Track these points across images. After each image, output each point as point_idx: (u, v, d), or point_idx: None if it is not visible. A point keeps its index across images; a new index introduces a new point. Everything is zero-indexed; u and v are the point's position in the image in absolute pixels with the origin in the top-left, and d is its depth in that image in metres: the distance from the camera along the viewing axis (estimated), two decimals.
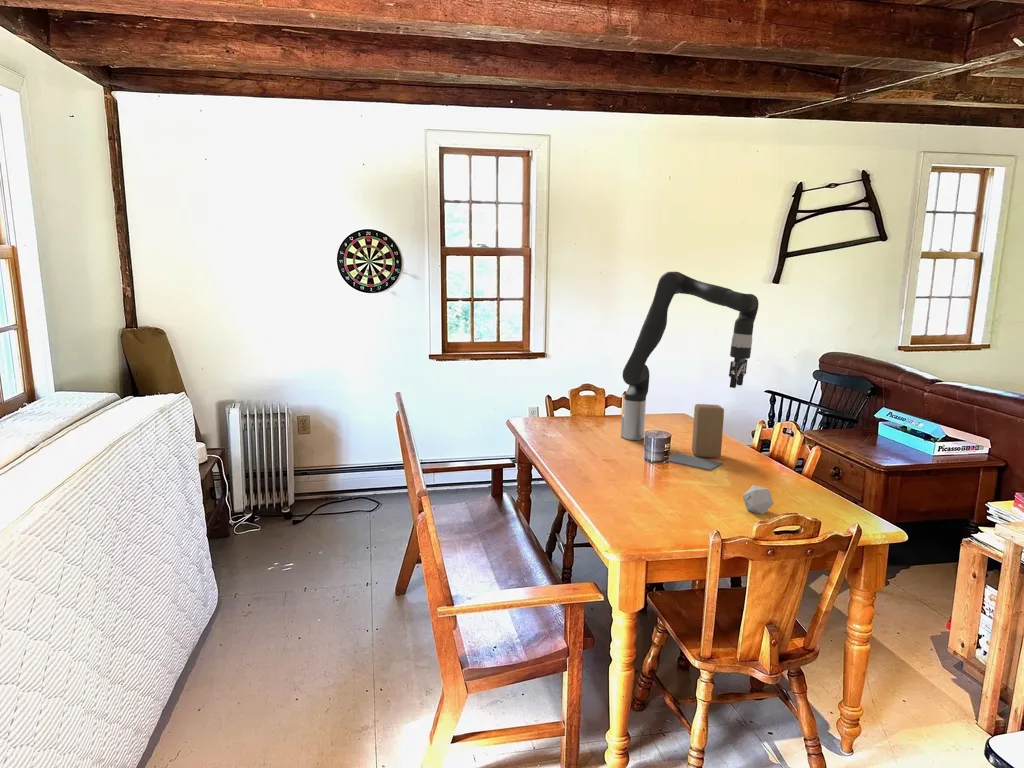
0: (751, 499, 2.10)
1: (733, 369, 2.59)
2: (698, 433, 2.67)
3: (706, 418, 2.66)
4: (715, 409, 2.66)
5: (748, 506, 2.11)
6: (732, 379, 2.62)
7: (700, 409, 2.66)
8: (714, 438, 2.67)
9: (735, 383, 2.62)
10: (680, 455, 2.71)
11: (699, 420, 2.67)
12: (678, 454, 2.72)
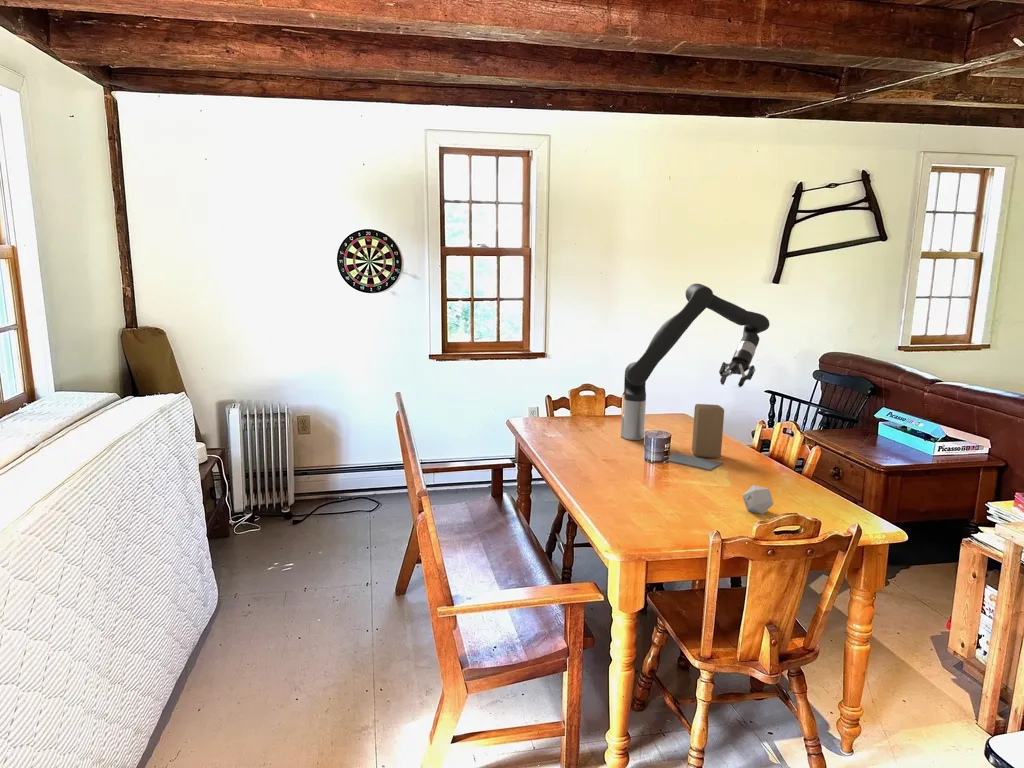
0: (751, 499, 2.10)
1: (752, 373, 2.81)
2: (698, 433, 2.67)
3: (706, 418, 2.66)
4: (715, 409, 2.66)
5: (748, 506, 2.11)
6: (744, 379, 2.81)
7: (700, 409, 2.66)
8: (714, 438, 2.67)
9: None
10: (680, 455, 2.71)
11: (699, 420, 2.67)
12: (678, 454, 2.72)
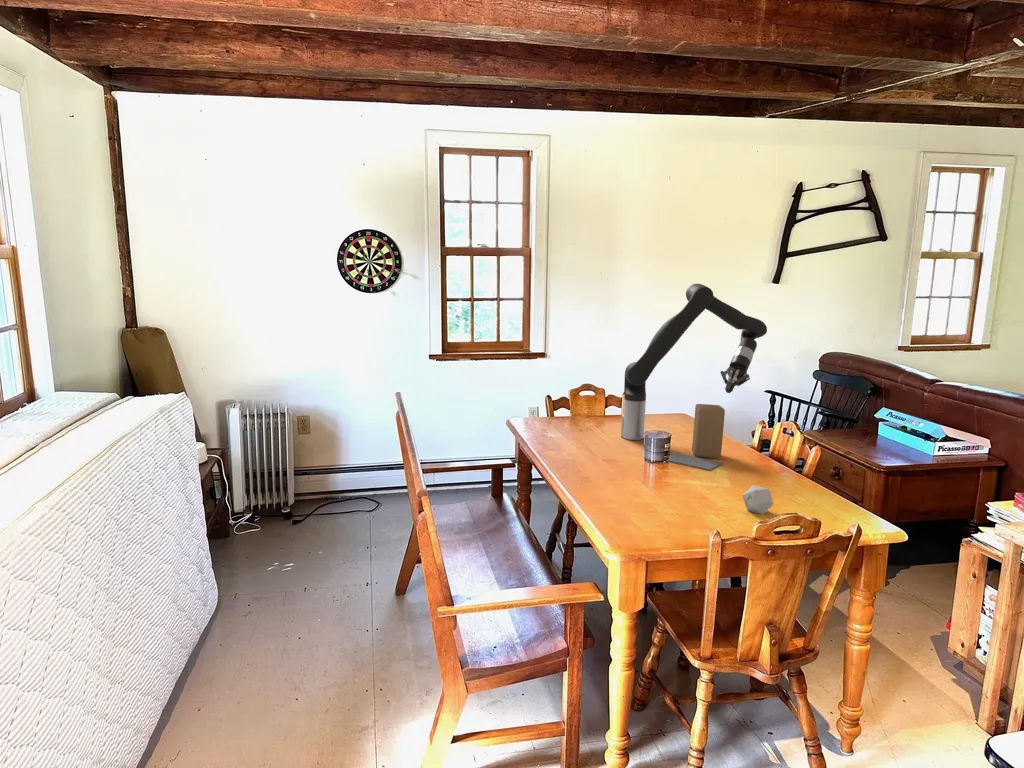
0: (751, 499, 2.10)
1: (743, 381, 2.82)
2: (698, 433, 2.67)
3: (707, 418, 2.66)
4: (716, 409, 2.65)
5: (748, 506, 2.11)
6: (733, 385, 2.82)
7: (701, 409, 2.66)
8: (715, 439, 2.67)
9: None
10: (680, 455, 2.71)
11: (700, 420, 2.66)
12: (678, 454, 2.72)
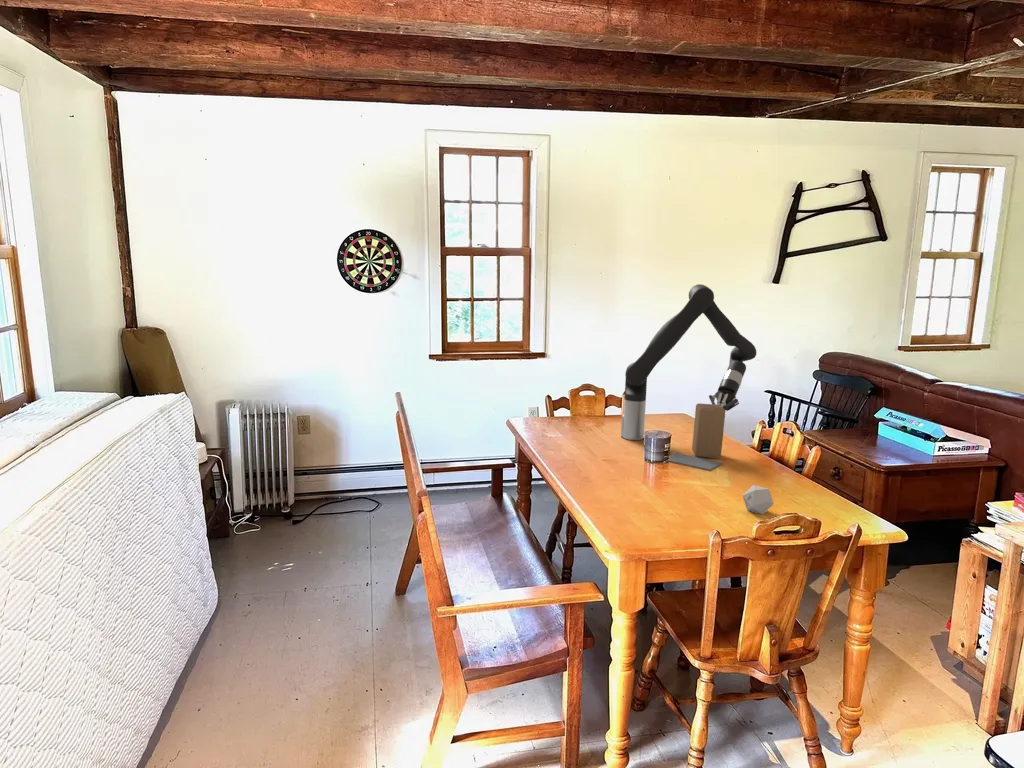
0: (751, 499, 2.10)
1: (732, 406, 2.76)
2: (699, 433, 2.67)
3: (707, 419, 2.65)
4: (716, 410, 2.65)
5: (748, 506, 2.11)
6: None
7: (701, 410, 2.65)
8: (715, 439, 2.67)
9: None
10: (680, 455, 2.71)
11: (700, 420, 2.66)
12: (678, 454, 2.72)
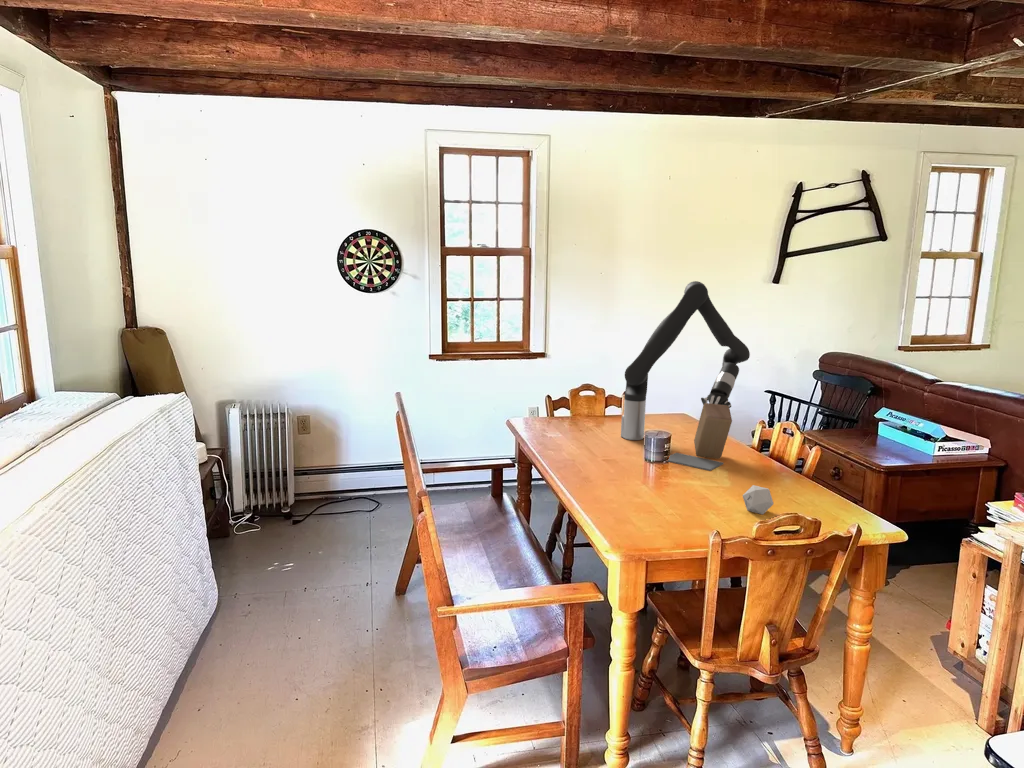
0: (751, 499, 2.10)
1: None
2: (702, 438, 2.63)
3: (712, 427, 2.59)
4: (723, 420, 2.57)
5: (748, 506, 2.11)
6: None
7: (707, 418, 2.58)
8: (717, 444, 2.63)
9: None
10: (680, 455, 2.71)
11: (704, 427, 2.60)
12: (678, 454, 2.72)
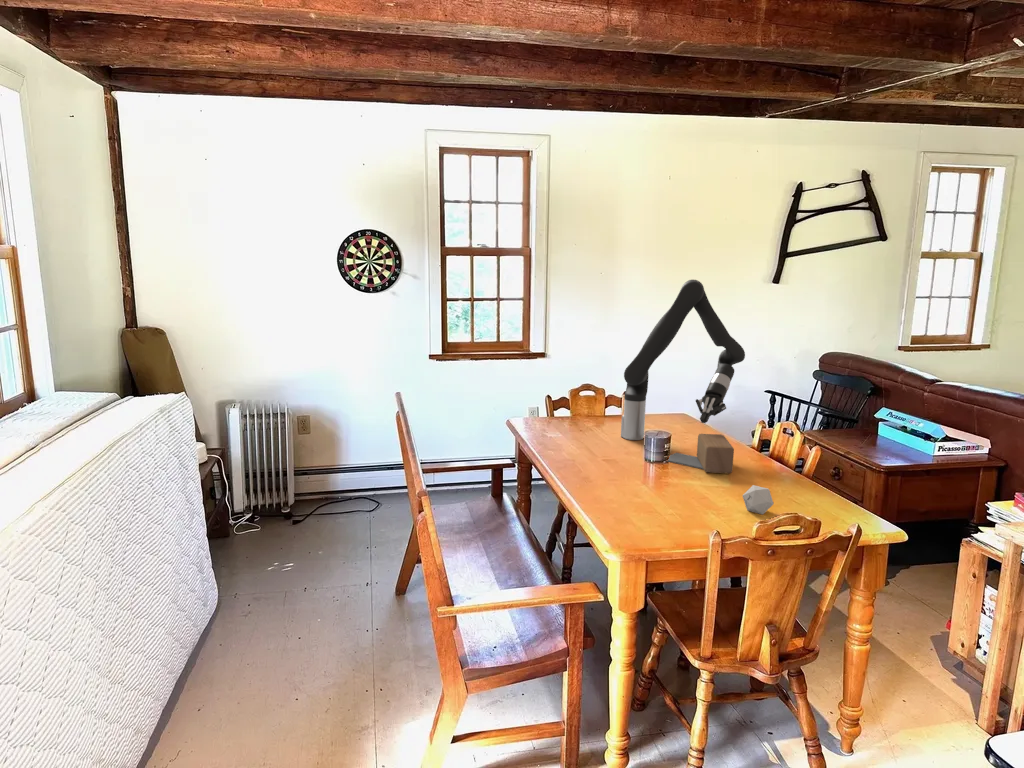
0: (751, 499, 2.10)
1: (719, 410, 2.66)
2: None
3: None
4: (722, 472, 2.49)
5: (748, 506, 2.11)
6: (708, 415, 2.67)
7: (706, 471, 2.50)
8: None
9: None
10: (680, 455, 2.71)
11: None
12: (678, 454, 2.72)
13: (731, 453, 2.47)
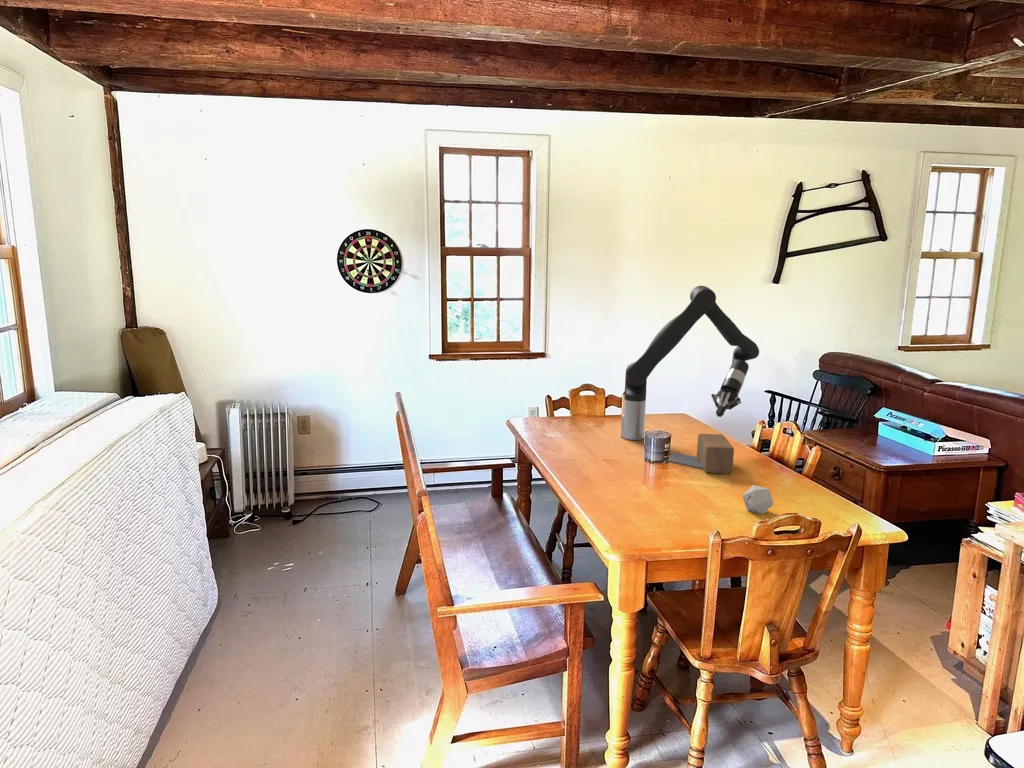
0: (751, 499, 2.10)
1: (734, 404, 2.77)
2: None
3: None
4: (722, 472, 2.49)
5: (748, 506, 2.11)
6: (724, 409, 2.78)
7: (706, 471, 2.50)
8: None
9: None
10: (680, 455, 2.71)
11: None
12: (678, 454, 2.72)
13: (731, 453, 2.47)
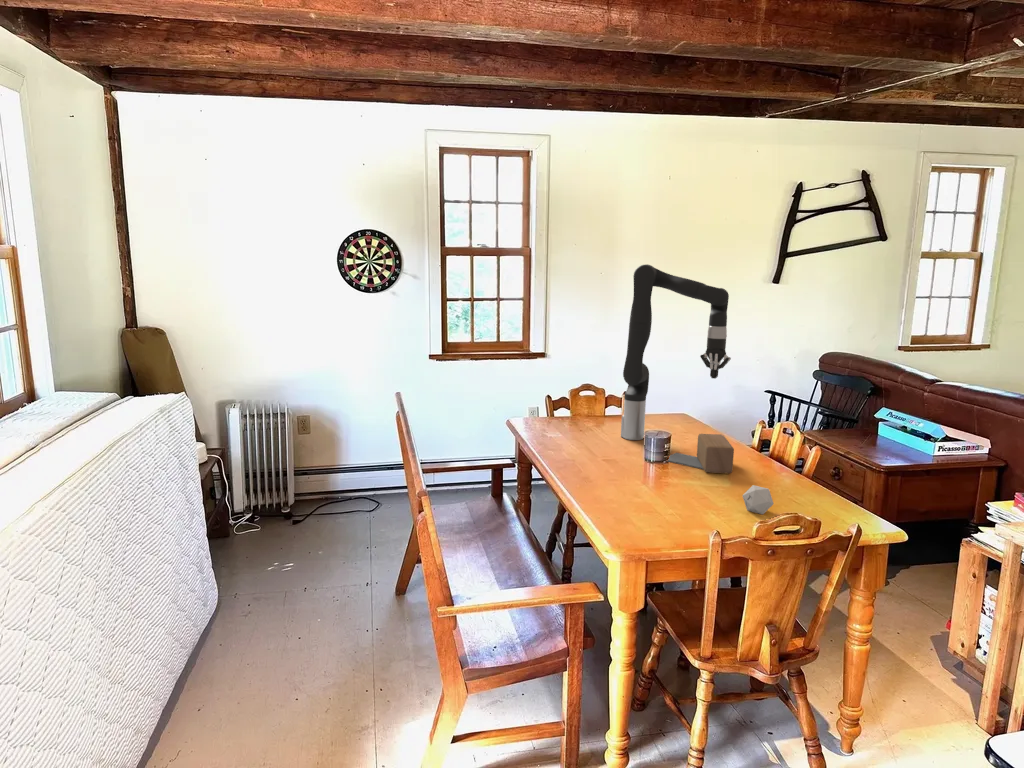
0: (751, 499, 2.10)
1: (725, 363, 2.80)
2: None
3: None
4: (722, 472, 2.49)
5: (748, 506, 2.11)
6: (717, 370, 2.82)
7: (706, 471, 2.50)
8: None
9: None
10: (680, 455, 2.71)
11: None
12: (678, 454, 2.72)
13: (731, 453, 2.47)
